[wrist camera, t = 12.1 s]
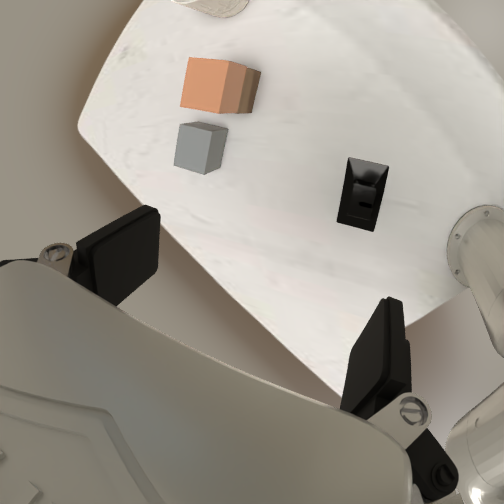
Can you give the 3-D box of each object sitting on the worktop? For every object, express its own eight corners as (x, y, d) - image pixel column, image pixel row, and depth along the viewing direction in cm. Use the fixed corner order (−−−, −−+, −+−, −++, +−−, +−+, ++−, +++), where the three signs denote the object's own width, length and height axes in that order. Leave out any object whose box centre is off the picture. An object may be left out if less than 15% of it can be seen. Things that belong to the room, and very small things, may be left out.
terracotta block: (247, 66, 30) (229, 60, 26) (237, 112, 33) (218, 113, 29) (210, 61, 31) (188, 57, 27) (201, 105, 35) (180, 106, 30)
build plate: (376, 241, 40) (376, 256, 36) (327, 229, 42) (322, 242, 38) (396, 156, 34) (400, 161, 30) (342, 143, 36) (340, 147, 32)
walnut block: (261, 72, 35) (247, 67, 30) (251, 112, 38) (236, 113, 34) (227, 66, 36) (210, 62, 31) (219, 105, 39) (201, 106, 35)
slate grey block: (228, 128, 40) (212, 131, 36) (220, 167, 43) (203, 174, 39) (198, 121, 41) (179, 124, 37) (191, 159, 44) (173, 165, 40)
